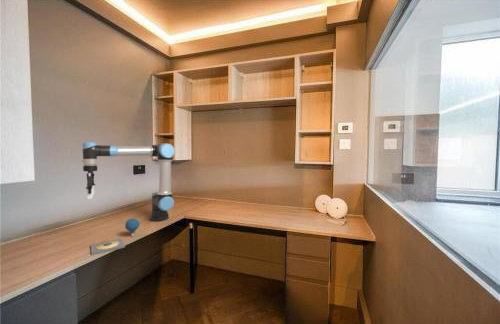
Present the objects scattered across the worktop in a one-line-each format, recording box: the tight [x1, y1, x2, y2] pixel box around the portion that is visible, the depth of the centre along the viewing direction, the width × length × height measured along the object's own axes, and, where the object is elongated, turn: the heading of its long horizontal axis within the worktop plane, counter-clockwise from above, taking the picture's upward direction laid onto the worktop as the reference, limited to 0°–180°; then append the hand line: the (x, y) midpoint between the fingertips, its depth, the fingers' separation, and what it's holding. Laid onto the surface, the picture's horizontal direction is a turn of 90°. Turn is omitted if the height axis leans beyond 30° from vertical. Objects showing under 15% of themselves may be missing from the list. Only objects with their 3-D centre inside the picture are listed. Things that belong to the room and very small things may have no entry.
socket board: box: [90, 237, 126, 256], centre depth 129 cm, size 16×15×2 cm
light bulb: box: [124, 218, 140, 237], centre depth 145 cm, size 8×8×12 cm
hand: (91, 196), depth 143 cm, fingers open, 13 cm apart
